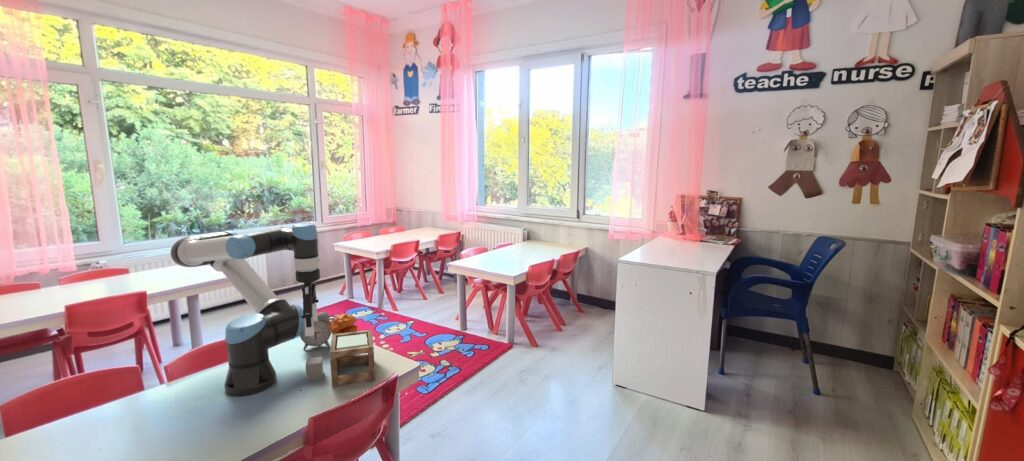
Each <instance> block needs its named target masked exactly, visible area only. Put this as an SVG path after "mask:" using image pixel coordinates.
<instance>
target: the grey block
mask: <svg viewBox="0 0 1024 461" xmlns="http://www.w3.org/2000/svg"><path fill="white" fill-rule="evenodd" d="M305 374H306V375H305V376H306V377H305V379H306V381H307V382H308V381H314V380H321V379H323V376H324V363H323V356H316V357H311V358H310V357H309V358H306V361H305Z"/></svg>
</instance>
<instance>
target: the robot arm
mask: <svg viewBox="0 0 1024 461" xmlns="http://www.w3.org/2000/svg"><path fill="white" fill-rule="evenodd" d="M318 236H319V235H318V230H317V226H316V224H314V223H296V224H293V225H292V226H291V228H290V227H289V228H288V227H287V228H286V227H283V226H279V227H276V226H275V227H272V228H269V229H268V230H263V231H258V232H250V233H242V234H238V233H237V232H235V231H232V230H219V231H216V232H210V233H203V234H202V233H201V234H194V235H188V236H184V237H182V238H180V239H178V240H177V241H176V242H174V244H173V245H172V246H171V248H170V256H171V257H170V258H171V259H172V261H173V262H174V263H175V264H177V265H178V266H181V267H182V268H183V267H185V268H196V267H202V266H207V265H210V267H212V268H213V270H215V271H216V272H219V273H220V272H222V274H223V275H225V277H226V278H227V279H228V281H229V282H230V283H231V284H232V285H233V287H234V288H235V290H236V291H237V292H238V293H239V294H240V295H241V297H242V298H243V299H244V300H245V301H246V302H247V303H248V305H249V306H250V307H251V309H252V310H253V311H254V312H255V313H249V314H245V315H240V316H239V317H236V318H235V319H233V320H231V321H230V322H228V323H227V326H226V327H225V329H224V330H225V335H224V339H225V343H226V344H225V346H226V351H227V360H228V361H227V362H228V370H227V372H226V378H225V381H224V392H225V393H226V394H227V395H230V396H233V397H241V396H242V397H243V396H249V395H255V394H257V393H260V392H262V391H265V390H267V389H269V388H271V387H272V386H273V385H274V384H275V383H276V382H277V372H276V370H275V367H274V366H273V364H272V362H271V360H270V357H269V349H272V348H274V347H276V346H278V345H281V344H284V343H285V342H288V341H290V340H294V339H295V338H297V337H298V336H299V337H300V335H301V334H302V333H303V332H304V331H305V336H313V335H314V321H318V318H317V314H318V307H317V303H319V299H317V298H318V297H317V294H316V292H317V291H316V287H317V286H316V283H315V282H317V281H319V280H320V279H321V271H320V262H322V259H321V258H319V243H318V242H319V241H318ZM281 251H292V252H293V260H294V271H295V281H296V283H301V284H302V287H301V291H302V306H300V305H299V304H290V303H289V302H288V301H287V300H286V299H285V298H279V297H278V296H277V295H276V294H275V293H274V291H273V290H272V289H271V288H270V286H269V285H267V284H266V282H265V280H263V279H262V277H261V276H260V275H259V274H258V273H257V271H256V270H255V269H254V268H253V267H252V266H251V264H250V263H249V261H247V260H246V259H248V258H252V257H257V256H261V255H265V254H266V255H267V254H271V253H276V252H281ZM307 313H309V314H307Z"/></svg>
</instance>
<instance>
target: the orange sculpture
mask: <svg viewBox="0 0 1024 461" xmlns="http://www.w3.org/2000/svg"><path fill="white" fill-rule="evenodd" d="M330 322H331V323H330V330H331V332H332V333H331V335H332V334H339V333H348V332H356V331H358V327H359V326H358V325H356V324H355V323H356V322H357V318H356V316H354V315H352V314H349V311H348V312H347V313H341V314H339V315H337V316H335V317H334V318H332V319H331V321H330ZM351 356H355V355H350V356H343V357H339V358H344V357H351Z"/></svg>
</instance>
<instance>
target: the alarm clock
mask: <svg viewBox="0 0 1024 461" xmlns="http://www.w3.org/2000/svg"><path fill="white" fill-rule="evenodd" d="M307 314H309V313H307ZM317 318H318V321H314V335H313V336H305V331H304V332H303V333H302V334H301V335H299V337H300V339H301V341H302V342H303V344H304V346H303V350H304V351H305V350H306V349H307V348H308V347H309V346H310V347H320V346H323V345H325V346H327V347H328V348H330V346H331V344H330V343H329V339H330V338H331V336H332V332H331V330H330V323H331V321H330V315H329V313H328V312H327V311H320V312H318V313H317ZM331 324H332V323H331Z"/></svg>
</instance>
